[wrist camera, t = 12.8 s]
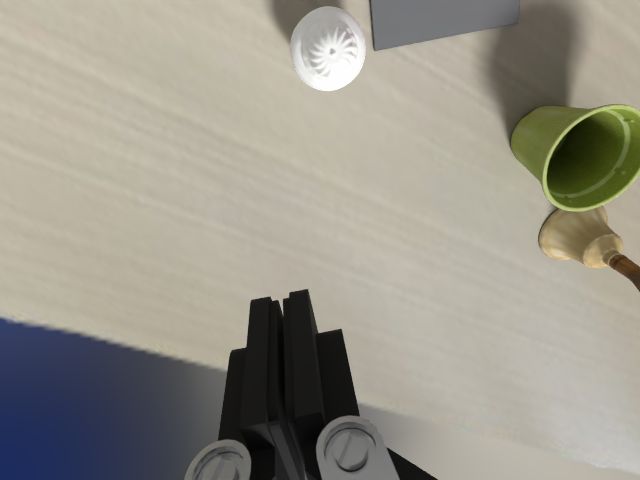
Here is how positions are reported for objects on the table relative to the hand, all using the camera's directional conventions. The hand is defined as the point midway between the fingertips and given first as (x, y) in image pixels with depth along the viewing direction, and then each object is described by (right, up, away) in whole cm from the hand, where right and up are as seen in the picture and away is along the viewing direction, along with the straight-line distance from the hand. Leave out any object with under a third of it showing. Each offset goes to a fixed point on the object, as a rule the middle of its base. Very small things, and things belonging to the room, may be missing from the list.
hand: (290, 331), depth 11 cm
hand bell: (+32, +4, +36) cm, 48 cm away
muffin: (+1, +20, +23) cm, 30 cm away
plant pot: (+24, +14, +29) cm, 40 cm away
